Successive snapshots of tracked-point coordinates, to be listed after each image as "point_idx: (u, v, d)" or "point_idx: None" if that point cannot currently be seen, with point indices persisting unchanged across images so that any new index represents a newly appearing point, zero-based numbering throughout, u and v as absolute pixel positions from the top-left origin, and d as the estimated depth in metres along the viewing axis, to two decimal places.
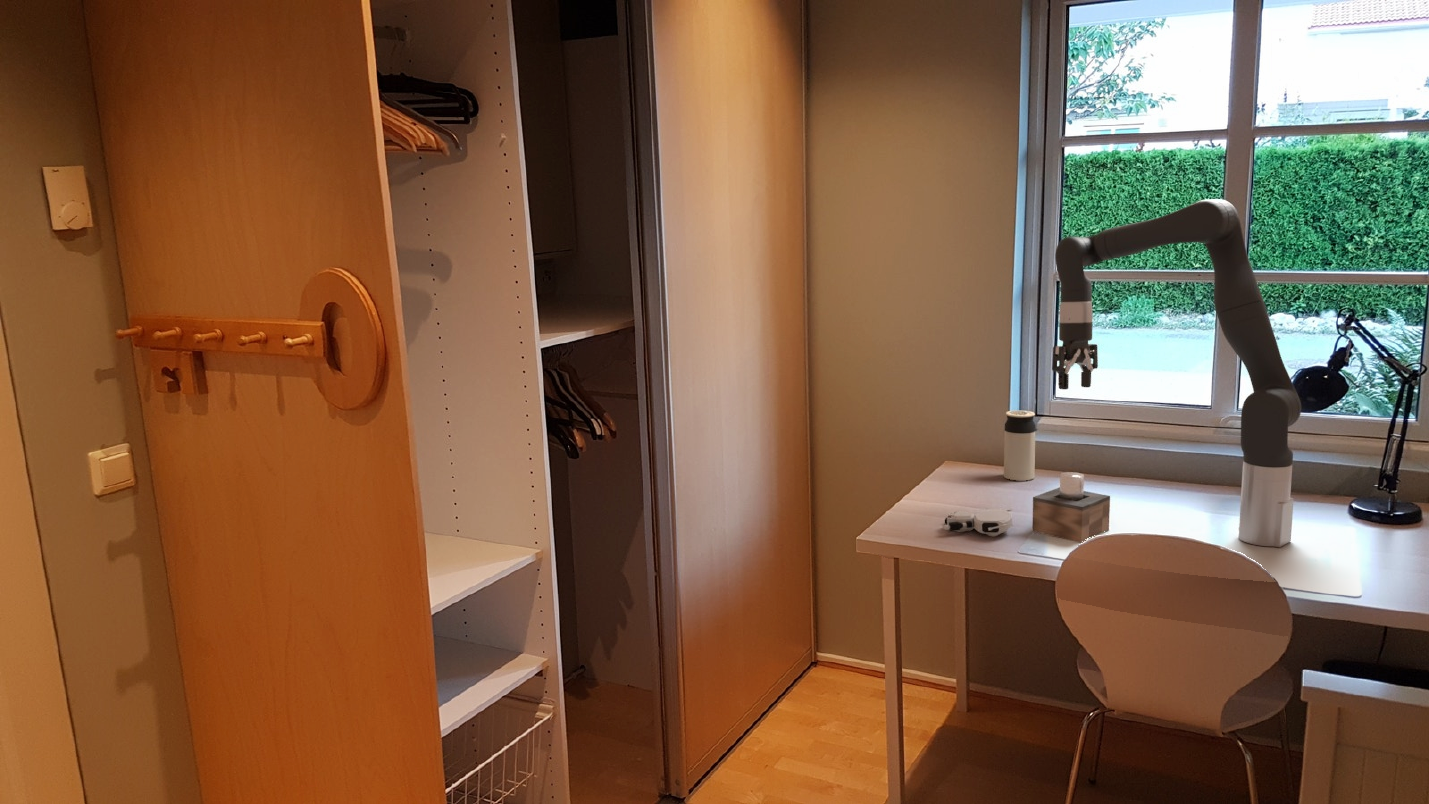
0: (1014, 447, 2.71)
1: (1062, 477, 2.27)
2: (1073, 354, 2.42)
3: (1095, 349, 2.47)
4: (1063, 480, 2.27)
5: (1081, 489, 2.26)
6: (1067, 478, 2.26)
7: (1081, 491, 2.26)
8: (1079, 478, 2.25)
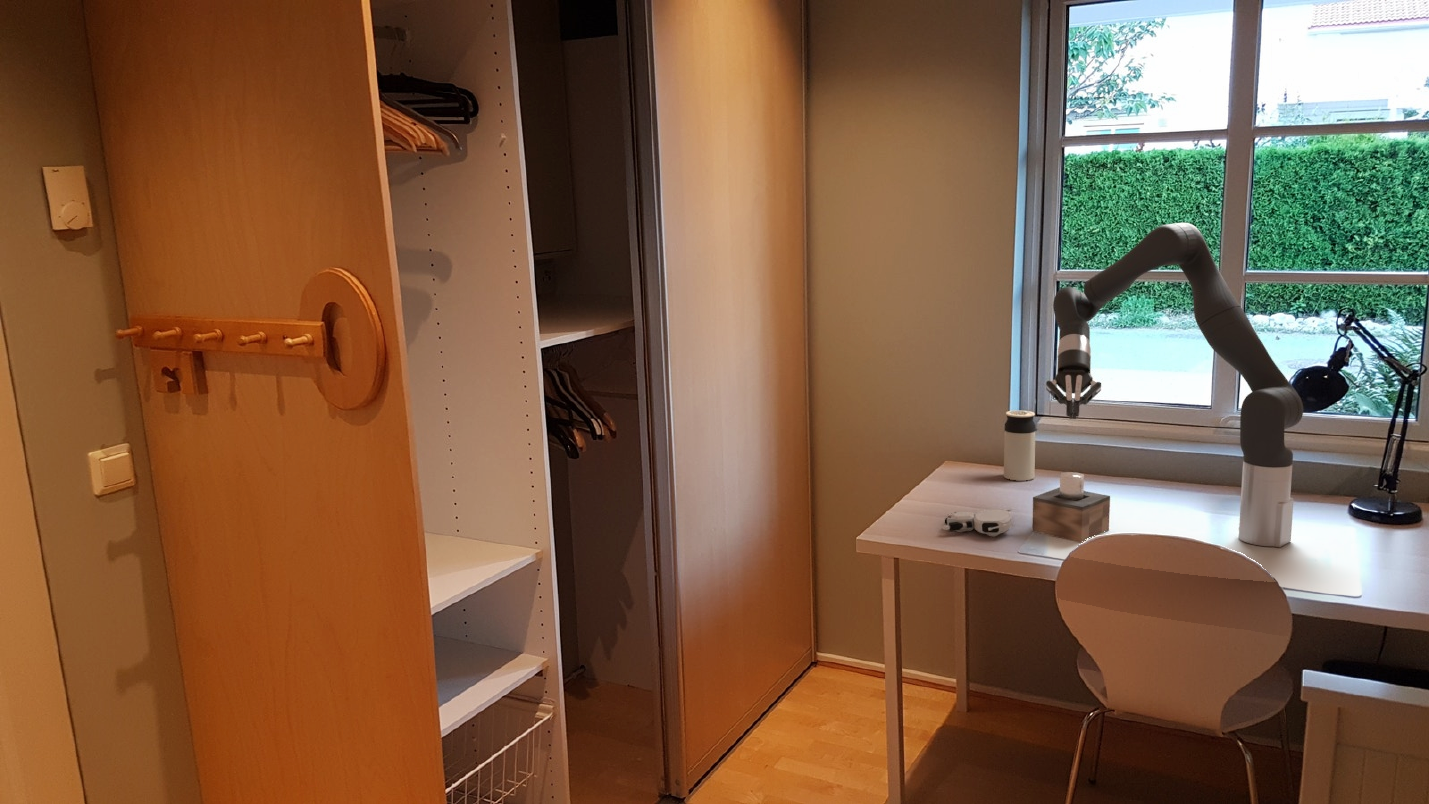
0: (1014, 447, 2.71)
1: (1062, 477, 2.27)
2: (1065, 382, 2.41)
3: (1096, 385, 2.39)
4: (1063, 480, 2.27)
5: (1081, 489, 2.26)
6: (1067, 478, 2.26)
7: (1081, 491, 2.26)
8: (1079, 478, 2.25)
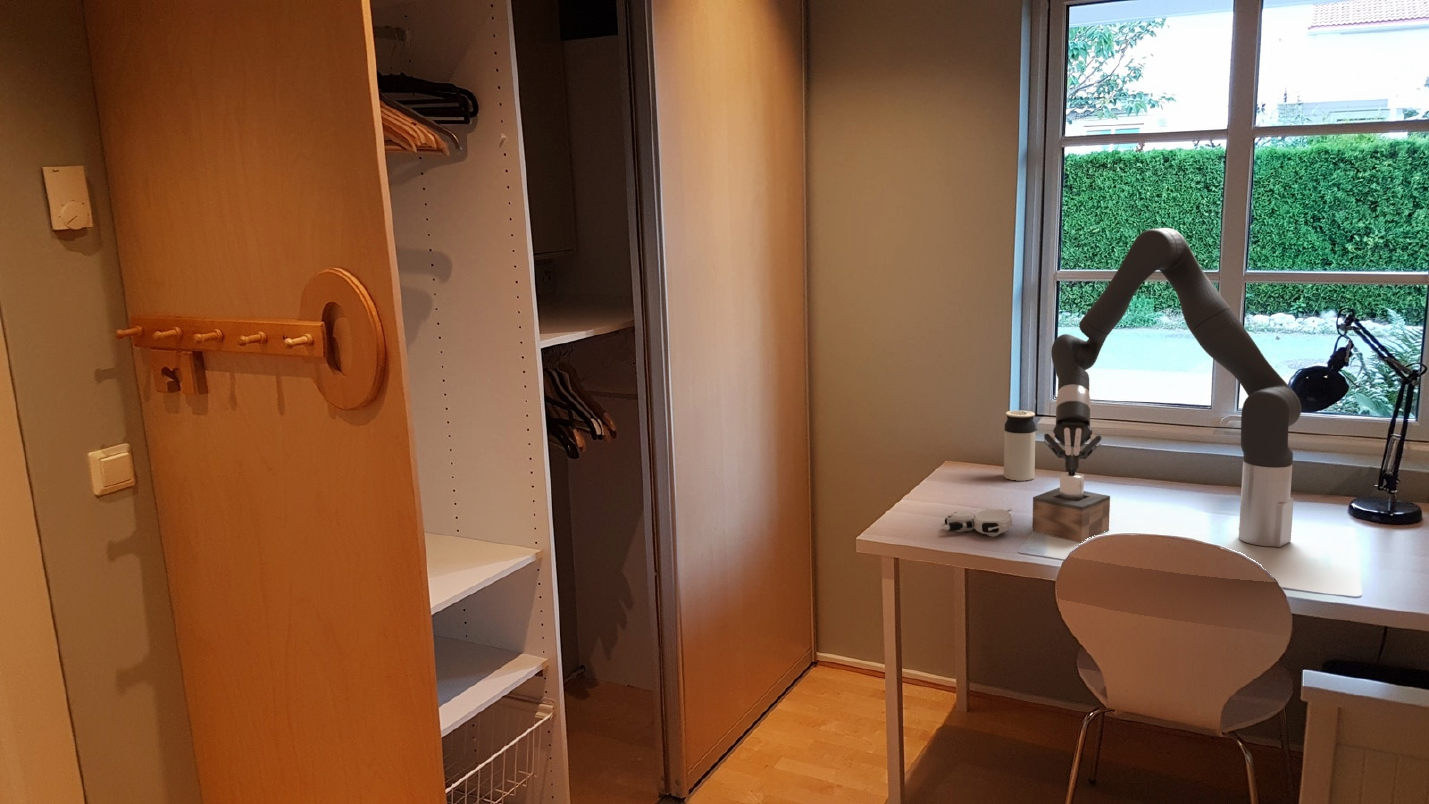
0: (1014, 447, 2.71)
1: (1062, 477, 2.27)
2: (1064, 436, 2.32)
3: (1096, 439, 2.29)
4: (1063, 480, 2.27)
5: (1081, 489, 2.26)
6: (1067, 478, 2.26)
7: (1081, 491, 2.26)
8: (1079, 478, 2.25)
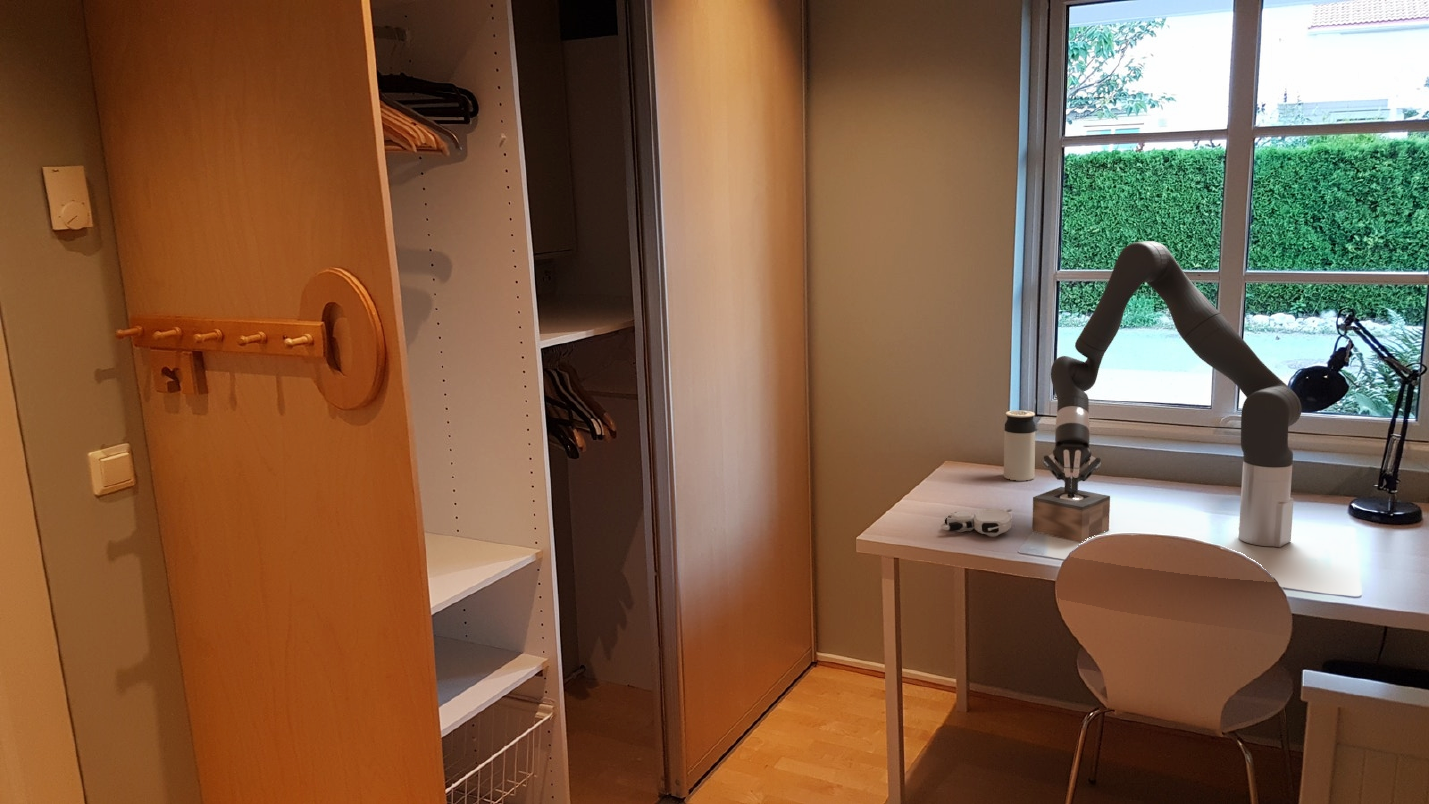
0: (1014, 447, 2.71)
1: None
2: (1063, 458, 2.32)
3: (1095, 461, 2.30)
4: None
5: None
6: None
7: None
8: (1078, 500, 2.26)
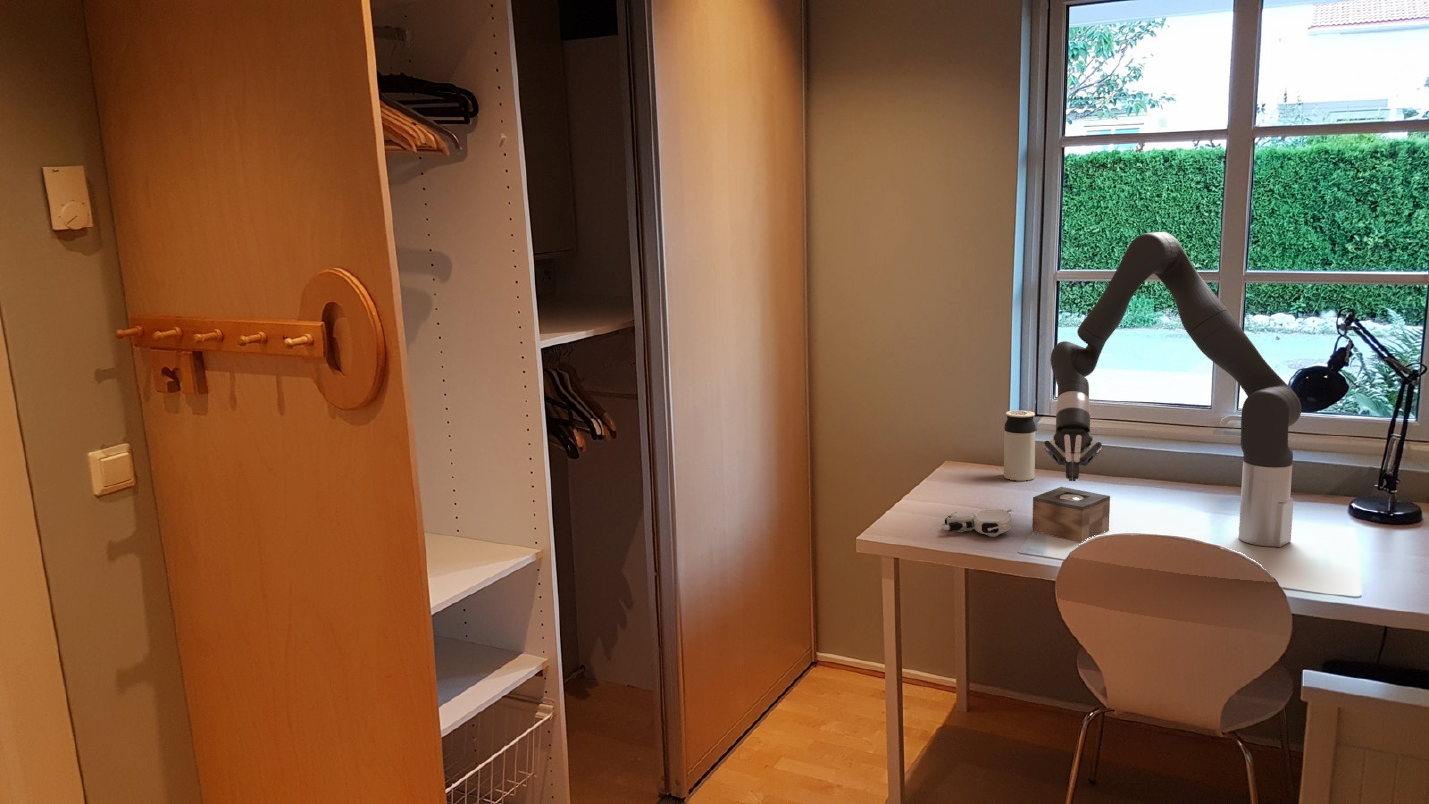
0: (1014, 447, 2.71)
1: None
2: (1064, 443, 2.32)
3: (1096, 445, 2.29)
4: None
5: None
6: None
7: None
8: (1078, 500, 2.26)
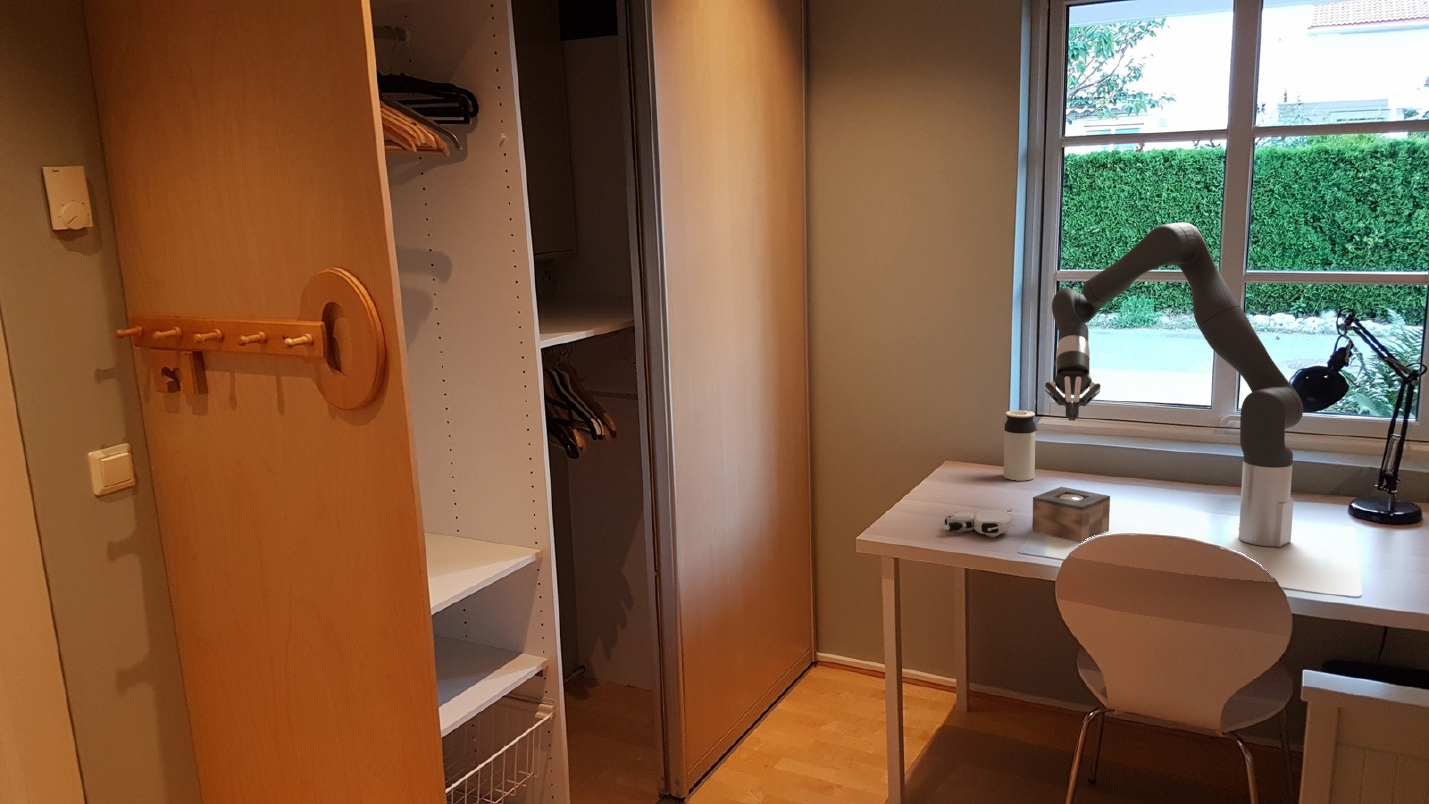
0: (1014, 447, 2.71)
1: None
2: (1064, 384, 2.40)
3: (1095, 386, 2.38)
4: None
5: None
6: None
7: None
8: (1078, 500, 2.26)
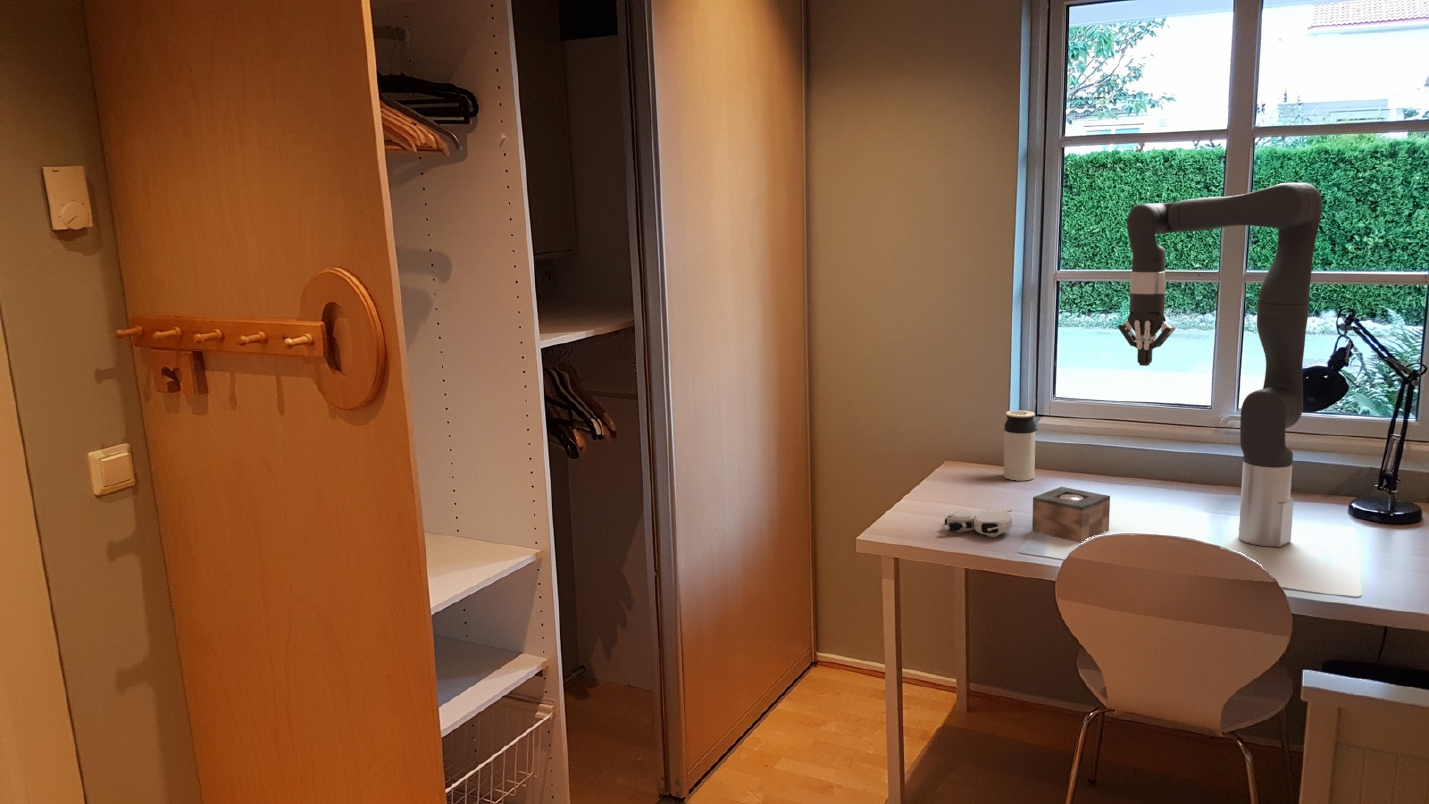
0: (1014, 447, 2.71)
1: None
2: None
3: (1164, 331, 2.32)
4: None
5: None
6: None
7: None
8: (1078, 500, 2.26)
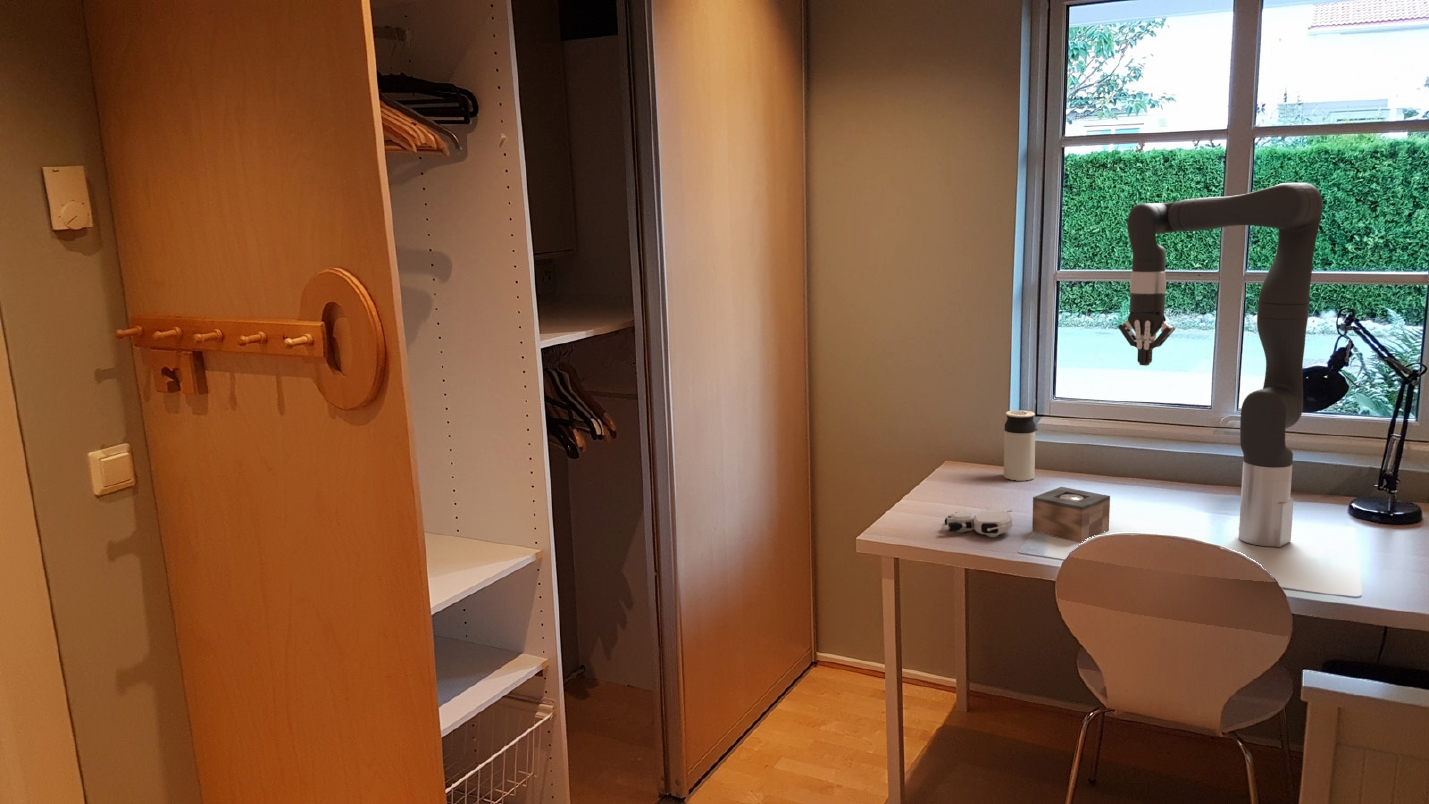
0: (1014, 447, 2.71)
1: None
2: None
3: (1165, 331, 2.32)
4: None
5: None
6: None
7: None
8: (1078, 500, 2.26)
